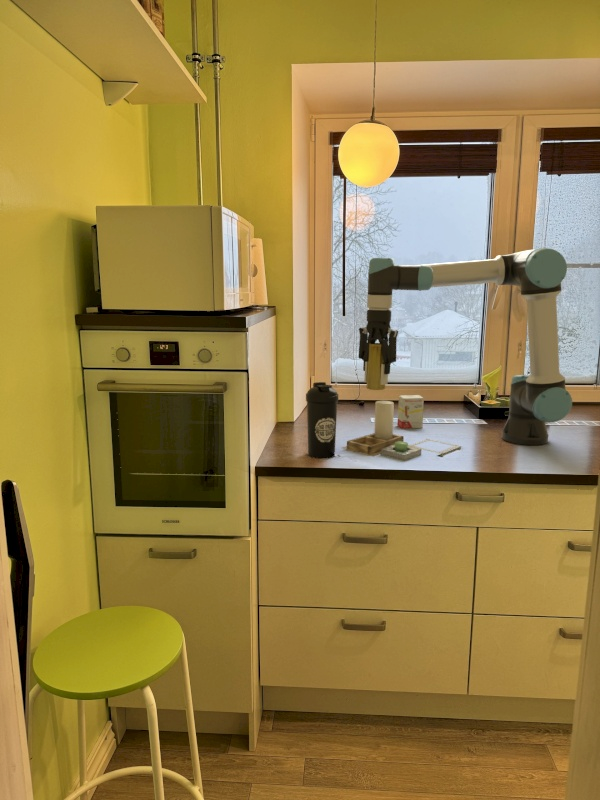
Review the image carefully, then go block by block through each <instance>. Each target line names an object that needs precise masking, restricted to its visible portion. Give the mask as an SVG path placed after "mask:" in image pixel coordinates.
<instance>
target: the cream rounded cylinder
mask: <svg viewBox="0 0 600 800" xmlns="http://www.w3.org/2000/svg"><path fill="white" fill-rule="evenodd" d="M374 405H375V407H374V408H375V410H374V432H373V433H374V438H377V439H381V440H389V439H393V434H394V412H395V409H394V408H395V407H394V405H395V403H394V402H393V401H392V400H391V401H390V400H377V401H375V404H374Z"/></svg>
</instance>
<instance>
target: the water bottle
mask: <svg viewBox="0 0 600 800" xmlns="http://www.w3.org/2000/svg"><path fill="white" fill-rule="evenodd" d="M305 401H306V414H307V419H306V420H307V421H306V422H307V455H308V457H310V458H313V459H318V460H319V459H321V460H323V459H324V460H325V459H331V458H334V457H335V456H336V454H335V452H336V438H337V437H336V436H337V434H336V433H337V414H338V413H337V412H338V403H339V393H338V391H336V389H334V388H333V385H332V384H327V383H326V381H325V382H321V381H319V382H318V381H317V382H313V383H312V387H311V388H310V389H308V391H307V392H306V394H305Z"/></svg>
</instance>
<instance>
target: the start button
mask: <svg viewBox="0 0 600 800" xmlns="http://www.w3.org/2000/svg"><path fill="white" fill-rule="evenodd" d="M408 445H409V443H408V442H407V441H403V442H402V441H398V442H395V450H397V451H407V450H408Z"/></svg>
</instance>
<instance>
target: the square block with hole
mask: <svg viewBox="0 0 600 800" xmlns="http://www.w3.org/2000/svg"><path fill="white" fill-rule="evenodd" d="M380 455H381V456H384V457H388V458H392V459H395V460H396V459H397V460H400V461H404V462H405V461H409V460H410V459H413V458H415V457H419V456H422V449H419V448H415V447H411V446H408V450H407V451H397V450H395V444H394V445H391V446H388V447H385V448H382V449H381V454H380Z"/></svg>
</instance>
